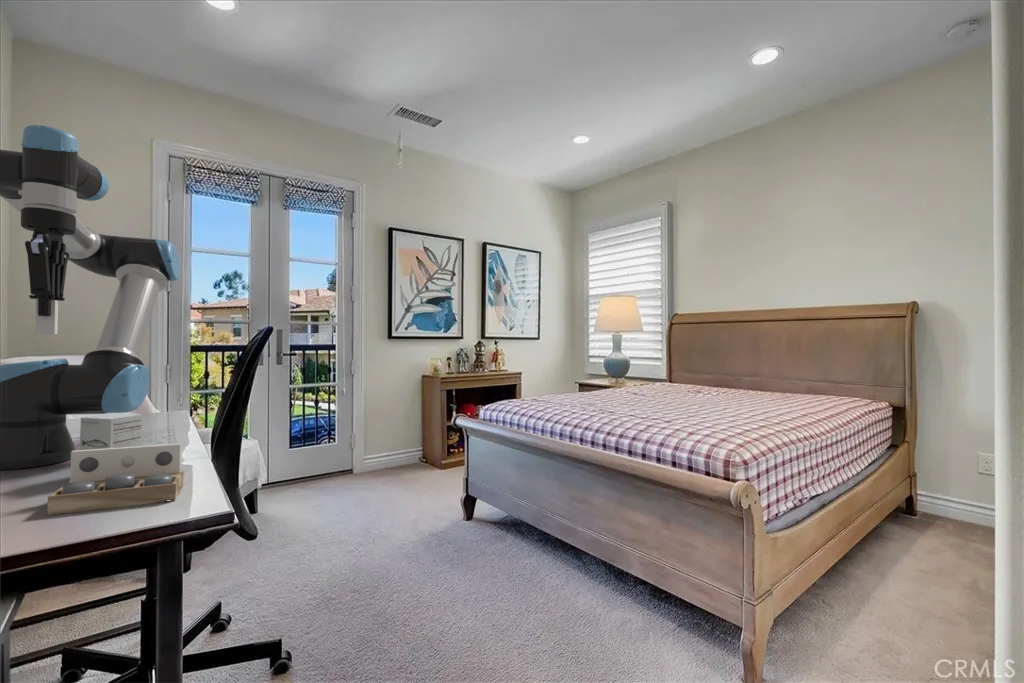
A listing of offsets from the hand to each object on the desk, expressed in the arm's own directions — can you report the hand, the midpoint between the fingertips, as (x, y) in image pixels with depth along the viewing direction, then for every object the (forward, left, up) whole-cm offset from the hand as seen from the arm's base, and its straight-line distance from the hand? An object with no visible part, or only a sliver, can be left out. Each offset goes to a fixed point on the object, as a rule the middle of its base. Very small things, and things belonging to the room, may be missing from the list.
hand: (46, 333), depth 90 cm
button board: (+14, +15, -29) cm, 36 cm away
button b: (+16, +15, -27) cm, 35 cm away
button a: (+16, +9, -27) cm, 33 cm away
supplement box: (-5, +9, -30) cm, 31 cm away
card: (+11, +15, -26) cm, 32 cm away
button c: (+16, +20, -27) cm, 38 cm away
